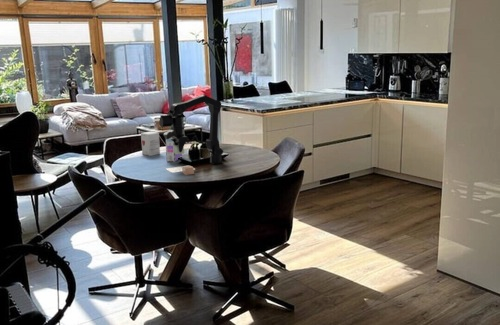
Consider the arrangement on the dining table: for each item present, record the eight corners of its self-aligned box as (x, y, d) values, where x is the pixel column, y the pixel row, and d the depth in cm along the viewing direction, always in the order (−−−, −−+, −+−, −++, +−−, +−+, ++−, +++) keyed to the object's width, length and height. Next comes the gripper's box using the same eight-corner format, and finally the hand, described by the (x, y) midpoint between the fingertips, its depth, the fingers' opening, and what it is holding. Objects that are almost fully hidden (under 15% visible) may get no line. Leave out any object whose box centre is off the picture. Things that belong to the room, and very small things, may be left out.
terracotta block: (190, 172, 273) (190, 165, 272) (193, 174, 269) (193, 167, 268) (182, 173, 271) (182, 166, 270) (185, 175, 266) (185, 168, 265)
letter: (188, 165, 288) (188, 165, 288) (195, 169, 279) (195, 169, 278) (165, 169, 281) (165, 168, 281) (171, 173, 272) (171, 172, 272)
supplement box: (141, 154, 323) (140, 132, 319) (152, 152, 330) (150, 131, 326) (150, 156, 317) (148, 134, 314) (160, 153, 324) (159, 132, 320)
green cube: (181, 152, 281) (180, 144, 280) (183, 153, 278) (183, 145, 276) (174, 152, 279) (173, 145, 278) (176, 154, 275) (176, 146, 274)
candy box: (175, 162, 299) (173, 136, 295) (166, 161, 300) (164, 136, 296) (182, 157, 312) (181, 132, 308) (174, 157, 313) (172, 132, 309)
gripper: (159, 124, 279) (160, 150, 282) (169, 128, 263) (171, 156, 266) (177, 123, 284) (178, 148, 288) (188, 127, 268) (189, 153, 272)
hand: (178, 151), depth 278 cm, fingers closed on green cube, 4 cm apart
